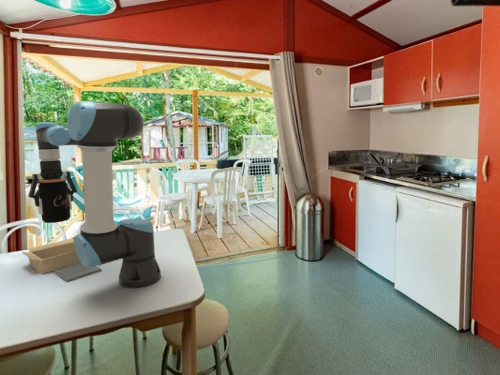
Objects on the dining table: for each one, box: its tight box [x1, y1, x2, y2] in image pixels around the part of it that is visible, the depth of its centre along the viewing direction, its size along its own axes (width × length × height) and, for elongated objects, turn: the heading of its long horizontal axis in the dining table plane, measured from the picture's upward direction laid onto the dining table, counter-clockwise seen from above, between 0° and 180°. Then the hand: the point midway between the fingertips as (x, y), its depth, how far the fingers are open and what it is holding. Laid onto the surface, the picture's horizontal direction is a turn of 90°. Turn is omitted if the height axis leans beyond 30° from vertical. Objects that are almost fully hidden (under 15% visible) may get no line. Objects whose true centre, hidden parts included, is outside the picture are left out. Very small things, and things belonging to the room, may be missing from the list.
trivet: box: [53, 262, 102, 283], centre depth 129 cm, size 13×13×1 cm
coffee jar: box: [37, 177, 71, 224], centre depth 137 cm, size 11×11×18 cm
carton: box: [21, 238, 82, 274], centre depth 141 cm, size 20×24×6 cm
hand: (55, 211), depth 138 cm, fingers closed on coffee jar, 11 cm apart
